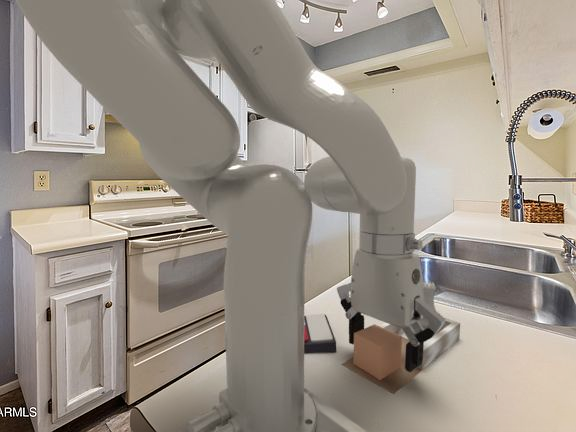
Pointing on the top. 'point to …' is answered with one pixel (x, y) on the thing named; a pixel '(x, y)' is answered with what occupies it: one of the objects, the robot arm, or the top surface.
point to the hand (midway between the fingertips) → (382, 353)
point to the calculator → (318, 335)
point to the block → (377, 351)
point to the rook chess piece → (429, 293)
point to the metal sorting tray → (401, 376)
